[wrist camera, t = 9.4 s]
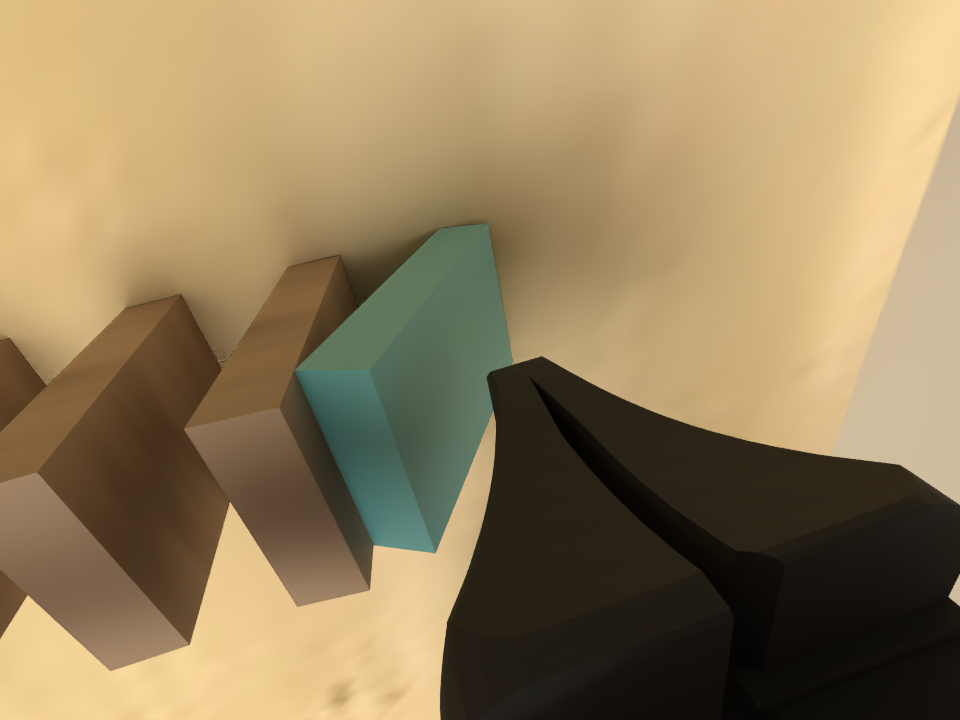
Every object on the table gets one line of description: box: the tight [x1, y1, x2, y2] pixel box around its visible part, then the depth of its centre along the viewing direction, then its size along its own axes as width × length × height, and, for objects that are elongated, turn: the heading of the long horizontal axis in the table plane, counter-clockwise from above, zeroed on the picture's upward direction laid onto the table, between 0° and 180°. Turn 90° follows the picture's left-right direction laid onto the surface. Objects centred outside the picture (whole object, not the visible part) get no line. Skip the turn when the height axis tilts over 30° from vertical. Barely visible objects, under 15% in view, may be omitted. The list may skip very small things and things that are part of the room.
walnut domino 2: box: [184, 255, 374, 607], centre depth 13 cm, size 5×2×8 cm, turn 11°
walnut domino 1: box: [0, 294, 230, 671], centre depth 12 cm, size 5×2×8 cm, turn 11°
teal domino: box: [294, 223, 513, 553], centre depth 13 cm, size 5×2×8 cm, turn 11°
